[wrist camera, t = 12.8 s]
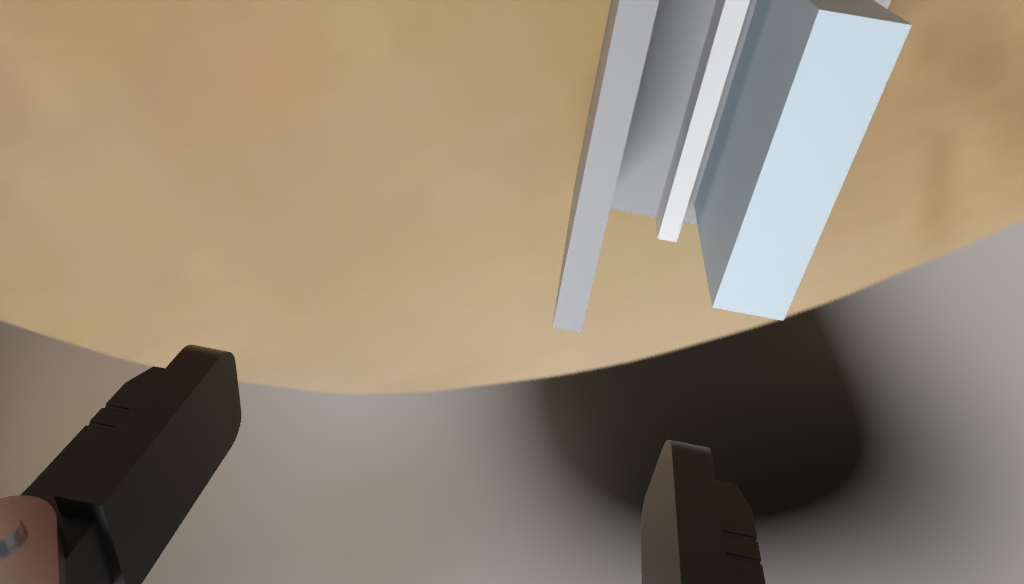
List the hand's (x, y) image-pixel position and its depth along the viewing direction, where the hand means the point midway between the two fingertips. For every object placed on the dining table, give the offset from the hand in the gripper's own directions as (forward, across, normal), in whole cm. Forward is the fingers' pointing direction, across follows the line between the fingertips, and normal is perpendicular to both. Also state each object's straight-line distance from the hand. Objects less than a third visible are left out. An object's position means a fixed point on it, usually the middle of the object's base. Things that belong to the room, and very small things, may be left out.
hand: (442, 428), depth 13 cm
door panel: (+26, -10, 0) cm, 28 cm away
